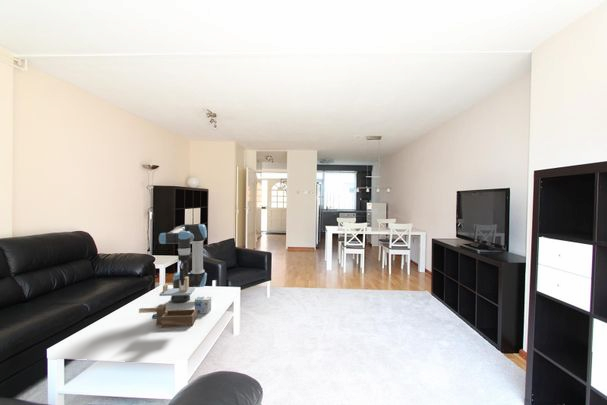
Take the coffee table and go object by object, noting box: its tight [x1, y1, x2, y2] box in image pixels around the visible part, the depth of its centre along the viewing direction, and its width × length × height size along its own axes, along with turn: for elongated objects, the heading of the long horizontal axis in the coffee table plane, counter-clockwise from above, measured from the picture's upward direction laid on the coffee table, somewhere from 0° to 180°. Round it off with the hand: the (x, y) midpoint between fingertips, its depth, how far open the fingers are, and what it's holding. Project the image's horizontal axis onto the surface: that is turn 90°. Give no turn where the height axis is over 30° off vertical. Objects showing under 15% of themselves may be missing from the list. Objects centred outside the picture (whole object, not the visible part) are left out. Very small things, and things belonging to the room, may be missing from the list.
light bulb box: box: [194, 295, 212, 315], centre depth 221 cm, size 11×7×11 cm, turn 88°
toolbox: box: [156, 303, 197, 328], centre depth 200 cm, size 12×24×12 cm, turn 98°
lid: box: [159, 276, 196, 297], centre depth 196 cm, size 12×19×10 cm, turn 98°
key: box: [138, 307, 157, 314], centre depth 198 cm, size 2×14×2 cm, turn 98°
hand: (183, 288), depth 196 cm, fingers closed on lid, 5 cm apart
